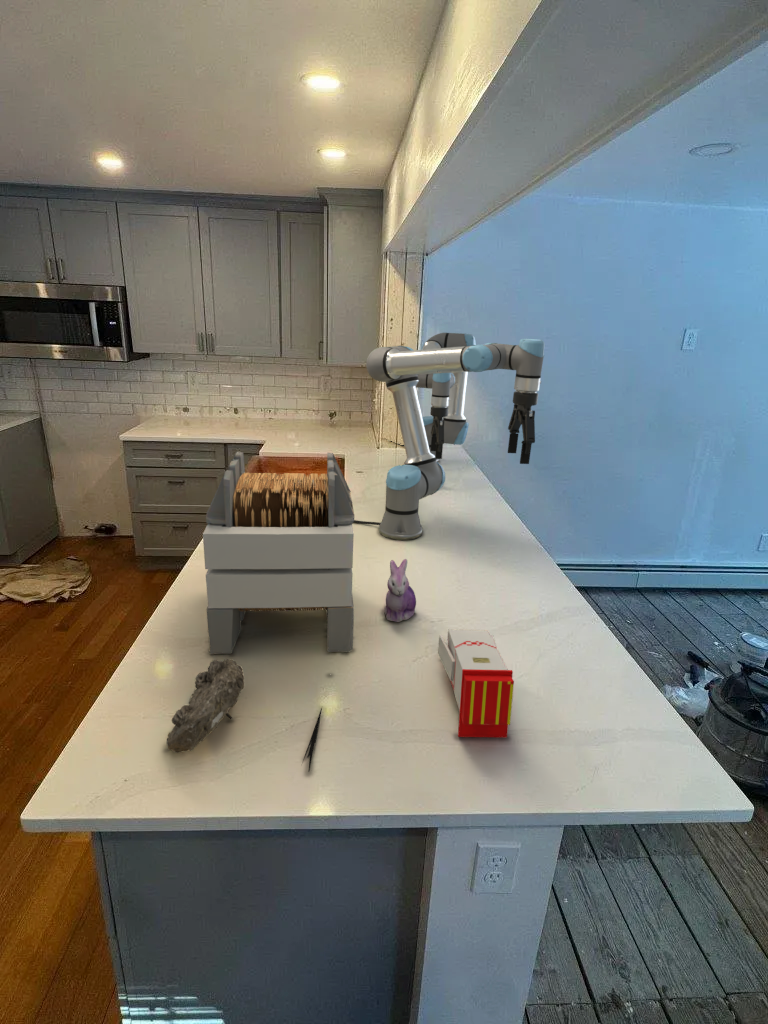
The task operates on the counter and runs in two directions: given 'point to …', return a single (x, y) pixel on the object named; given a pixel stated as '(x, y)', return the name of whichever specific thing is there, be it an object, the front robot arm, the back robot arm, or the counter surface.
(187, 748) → the fossil
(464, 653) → the toy
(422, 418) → the front robot arm
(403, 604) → the figurine
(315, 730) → the feather
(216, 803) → the counter surface
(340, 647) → the grey box with legs
